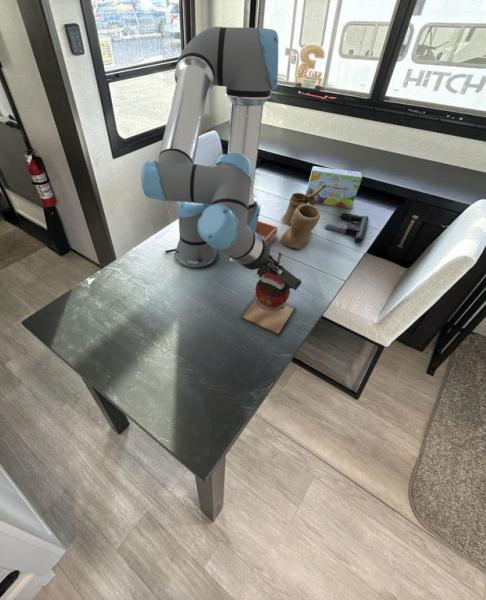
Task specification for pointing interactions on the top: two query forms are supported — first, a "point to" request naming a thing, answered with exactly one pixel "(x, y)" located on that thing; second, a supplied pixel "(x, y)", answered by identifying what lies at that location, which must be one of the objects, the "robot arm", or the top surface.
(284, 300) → the cake
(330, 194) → the snack box
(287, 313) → the cork mat
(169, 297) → the top surface
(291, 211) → the brown watering can
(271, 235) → the orange square tray
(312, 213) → the tan boot
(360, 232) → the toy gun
